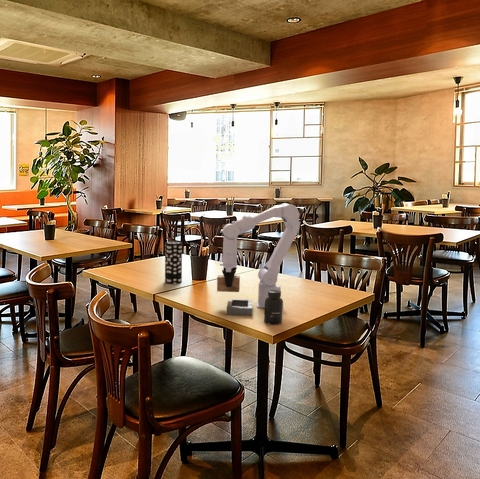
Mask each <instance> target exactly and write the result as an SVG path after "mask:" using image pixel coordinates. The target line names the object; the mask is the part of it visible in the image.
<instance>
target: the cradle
mask: <svg viewBox="0 0 480 479" xmlns="http://www.w3.org/2000/svg"><path fill="white" fill-rule="evenodd" d="M226 316H244V317H245V316H246V317H247V316H248V317H253V299H237V298H235V299H234V298H228V300H227V303H226Z"/></svg>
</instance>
